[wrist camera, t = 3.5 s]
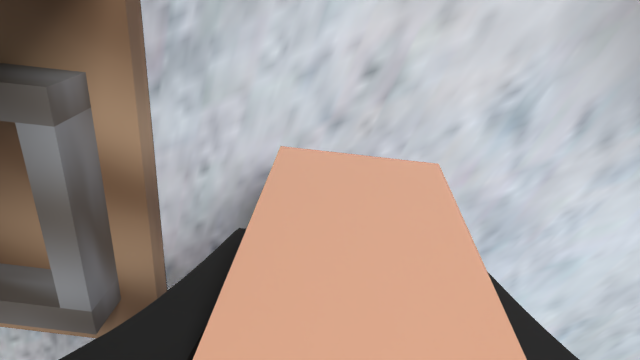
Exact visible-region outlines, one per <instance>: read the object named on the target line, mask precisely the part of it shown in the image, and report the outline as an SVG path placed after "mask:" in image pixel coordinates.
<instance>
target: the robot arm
mask: <svg viewBox="0 0 640 360" xmlns="http://www.w3.org/2000/svg"><path fill="white" fill-rule="evenodd" d="M245 231H246V229H242V228H239V229H237V230H236V231H235V232H234V233H233V234H232V235H230V236H229V237H228V238H227V239H226V240H225V241H224V242H223V243H222V244H221V245H220V246H219V247H218V248H217V249H216V250H215V251H214V252H213V253H212V254H210V255H209V256H208V257H207V258H206V259H205V260H204V261H203V262H202V263H200V264H199V265H198V266H197V267H196V268H195V269H193V270H192V271H191V272H190V273H189V274H188V275H187V276H185V277H184V278H183V279H182V280H181V281H179V282H178V283H177V284H175V285H174V286H173V287H172V288H170V289H169V290H168V291H167V292H165V293H164V294H163V295H161V296H160V297H159V298H158V299H156V300H155V301H154V302H152V303H151V304H149V305H148V306H147V307H145V308H144V309H142V310H141V311H140V312H138V313H137V314H135V315H134V316H132V317H131V318H129V319H128V320H126V321H125V322H123V323H122V324H120V325H119V326H117V327H115V328H114V329H112V330H111V331H109V332H107V333H106V334H104V335H102V336H100V337H98V338H97V339H95V340H93V341H91V342H90V343H88V344H86V345H84V346H83V347H81V348H79V349H77V350H75V351H74V352H72V353H70V354H68V355H67V356H65V357H63V358H61V359H59V360H193V358H194V355H195V353H196V350H197V348H198V345H199V343H200V341H201V338H202V336H203V333H204V331H205V329H206V326H207V324H208V321H209V319H210V316H211V314H212V312H213V309H214V307H215V304H216V302H217V299H218V297H219V295H220V292H221V290H222V287H223V285H224V282H225V280H226V278H227V275H228V273H229V270H230V268H231V265H232V263H233V261H234V258H235V256H236V253H237V251H238V248H239V246H240V244H241V241H242V239H243V236H244V234H245ZM487 273H488V272H487ZM488 275H489V277H490V279H491V281H492V284H493V286H494V288H495V290H496V293H497V295H498V297H499V299H500V301H501V304H502V306H503V308H504V310H505V313H506V315H507V317H508V319H509V321H510V324H511V326H512V328H513V330H514V333H515V335H516V337H517V339H518V341H519V344H520V346H521V348H522V350H523V353H524V355H525V357H526V359H527V360H579V359H578V358H577V357H575V356H574V355H573V354H572V353H571V352H570V351H569V350H568V349H566V348H565V347H564V346H563V345H562V344H561V343H560V342H559V341H557V340H556V339H555V338H554V337H553V336H552V335H551V334H550V333H549V332H547V331H546V330H545V329H544V328H543V327H542V326H541V325H540V324H539V323H538V322H537V321H536V320H535V319H534V318H533V317H532V316H531V315H530V314H529V313H528V312H526V311H525V310H524V309H523V308H522V307H521V306H520V305H519V304H518V303H517V302H516V301H515V300H514V299H513V298H512V297H511V296H510V295H509V293H508V292H507V291H506V290H505V289H504V288H503V287H502V286H501V285H500V284H499V283H498V282H497V281H496V280H495V279H494V278H493V277H492V276H491V275H490V274H489V273H488Z"/></svg>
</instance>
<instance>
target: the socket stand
mask: <svg viewBox="0 0 640 360" xmlns="http://www.w3.org/2000/svg"><path fill="white" fill-rule="evenodd" d="M165 292H167V286H166V275H165V265H164V254H163V243H162V232H161V221H160V210H159V200H158V189H157V178H156V167H155V156H154V145H153V135H152V124H151V113H150V102H149V91H148V80H147V70H146V59H145V48H144V37H143V26H142V16H141V5H140V0H0V327H8V328H17V329H25V330H33V331H41V332H50V333H58V334H66V335H74V336H82V337H91V338H98V337H100V336H102V335H104V334H106V333H107V332H109V331H111V330H112V329H114V328H115V327H117V326H119V325H120V324H122V323H123V322H125V321H126V320H128V319H129V318H131V317H132V316H134V315H135V314H137V313H138V312H140V311H141V310H142V309H144V308H145V307H147V306H148V305H149V304H151V303H152V302H154V301H155V300H156V299H158V298H159V297H160V296H161V295H163V294H164V293H165Z"/></svg>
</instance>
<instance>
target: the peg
mask: <svg viewBox="0 0 640 360" xmlns="http://www.w3.org/2000/svg"><path fill="white" fill-rule="evenodd" d="M193 360H527V359H526V357H525V355H524V353H523V350H522V348H521V346H520V344H519V341H518V339H517V337H516V335H515V333H514V330H513V328H512V326H511V324H510V321H509V319H508V317H507V315H506V313H505V310H504V308H503V306H502V304H501V301H500V299H499V297H498V295H497V293H496V290H495V288H494V286H493V284H492V281H491V279H490V277H489V275H488V273H487V270H486V268H485V266H484V264H483V261H482V259H481V257H480V255H479V253H478V250H477V248H476V246H475V244H474V241H473V239H472V237H471V235H470V233H469V230H468V228H467V226H466V224H465V221H464V219H463V217H462V215H461V213H460V210H459V208H458V206H457V204H456V201H455V199H454V197H453V195H452V192H451V190H450V188H449V186H448V184H447V181H446V179H445V177H444V175H443V172H442V170H441V168H440V166H439V164H435V163H426V162H417V161H408V160H399V159H390V158H381V157H372V156H364V155H355V154H346V153H337V152H328V151H319V150H310V149H301V148H292V147H283V146H281V147H280V149H279V151H278V154H277V156H276V159H275V161H274V164H273V166H272V168H271V171H270V173H269V176H268V178H267V180H266V183H265V185H264V188H263V190H262V193H261V195H260V197H259V200H258V202H257V205H256V207H255V210H254V212H253V214H252V217H251V219H250V222H249V224H248V227H247V229H246V231H245V234H244V236H243V239H242V241H241V244H240V246H239V248H238V251H237V253H236V256H235V258H234V261H233V263H232V265H231V268H230V270H229V273H228V275H227V278H226V280H225V282H224V285H223V287H222V290H221V292H220V295H219V297H218V299H217V302H216V304H215V307H214V309H213V312H212V314H211V316H210V319H209V321H208V324H207V326H206V329H205V331H204V333H203V336H202V338H201V341H200V343H199V345H198V348H197V350H196V353H195V355H194V358H193Z"/></svg>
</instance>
